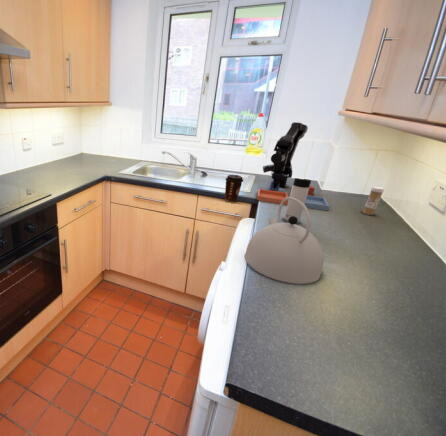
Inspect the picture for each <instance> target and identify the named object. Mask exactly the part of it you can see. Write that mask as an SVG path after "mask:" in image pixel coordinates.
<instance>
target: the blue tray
mask: <svg viewBox="0 0 446 436" xmlns="http://www.w3.org/2000/svg"><path fill="white" fill-rule="evenodd" d="M304 205H305V206H306V207H307V209H315V210H322V211H328V210H329V207H330V205H329V203H328V202H327V200H326V197H323V196H316V195H313V196H310V195H307V198H306V201H305V204H304Z"/></svg>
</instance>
